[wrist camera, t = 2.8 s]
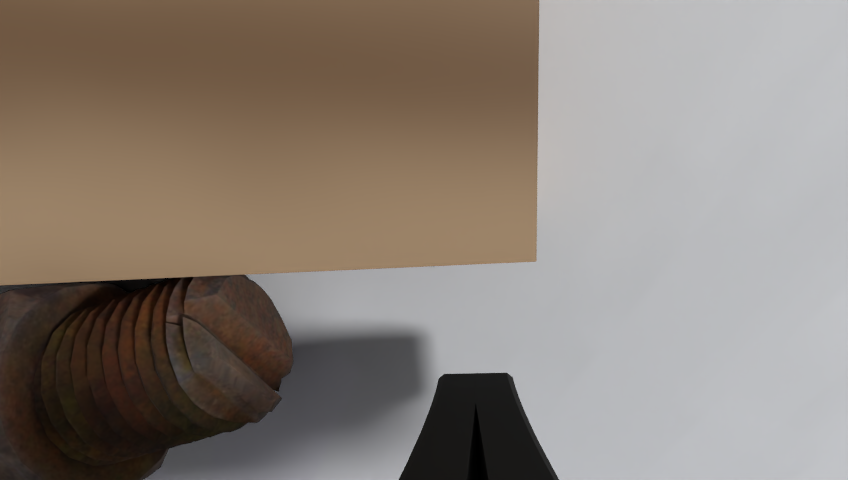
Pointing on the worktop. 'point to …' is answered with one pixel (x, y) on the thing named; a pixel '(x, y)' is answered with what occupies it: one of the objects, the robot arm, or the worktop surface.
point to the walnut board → (264, 136)
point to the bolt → (132, 373)
